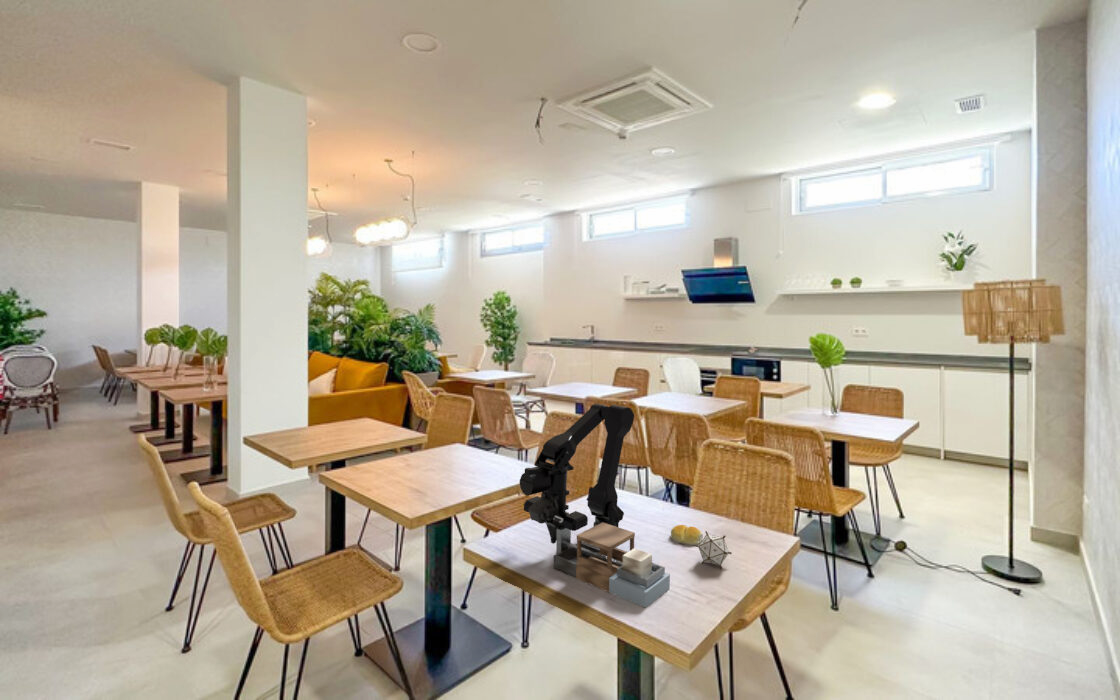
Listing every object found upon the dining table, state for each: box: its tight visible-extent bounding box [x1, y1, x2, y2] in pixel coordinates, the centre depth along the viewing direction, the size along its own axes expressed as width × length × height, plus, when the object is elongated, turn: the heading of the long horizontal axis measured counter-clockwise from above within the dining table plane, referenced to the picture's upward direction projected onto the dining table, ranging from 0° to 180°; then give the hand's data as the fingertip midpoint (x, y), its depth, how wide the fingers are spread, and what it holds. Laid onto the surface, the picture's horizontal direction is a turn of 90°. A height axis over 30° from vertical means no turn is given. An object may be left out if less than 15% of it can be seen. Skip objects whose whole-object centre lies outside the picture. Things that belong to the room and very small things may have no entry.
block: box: [623, 547, 653, 578], centre depth 124 cm, size 5×5×5 cm
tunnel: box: [553, 522, 636, 593], centre depth 132 cm, size 18×11×11 cm, turn 50°
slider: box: [555, 525, 666, 588], centre depth 130 cm, size 29×8×8 cm, turn 50°
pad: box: [608, 571, 671, 608], centre depth 123 cm, size 10×11×4 cm
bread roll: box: [670, 524, 704, 546], centre depth 153 cm, size 8×9×4 cm
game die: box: [694, 530, 733, 569], centre depth 137 cm, size 9×8×10 cm
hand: (553, 542), depth 141 cm, fingers closed
